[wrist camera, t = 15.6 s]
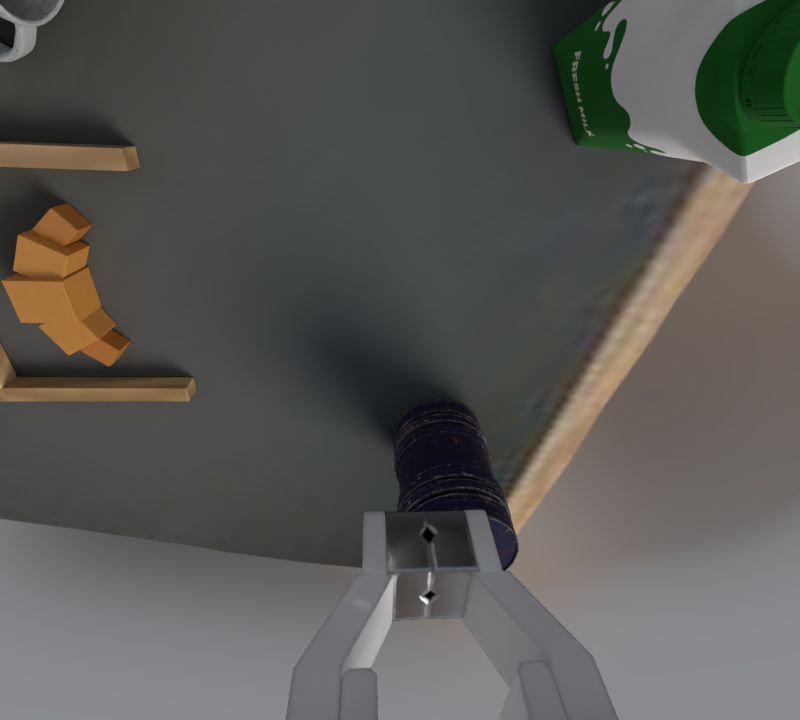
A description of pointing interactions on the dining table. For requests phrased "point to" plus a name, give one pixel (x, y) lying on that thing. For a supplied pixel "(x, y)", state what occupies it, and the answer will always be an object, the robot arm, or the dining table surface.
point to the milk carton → (688, 81)
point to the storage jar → (450, 469)
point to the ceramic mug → (25, 24)
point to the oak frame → (9, 387)
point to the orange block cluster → (62, 287)
